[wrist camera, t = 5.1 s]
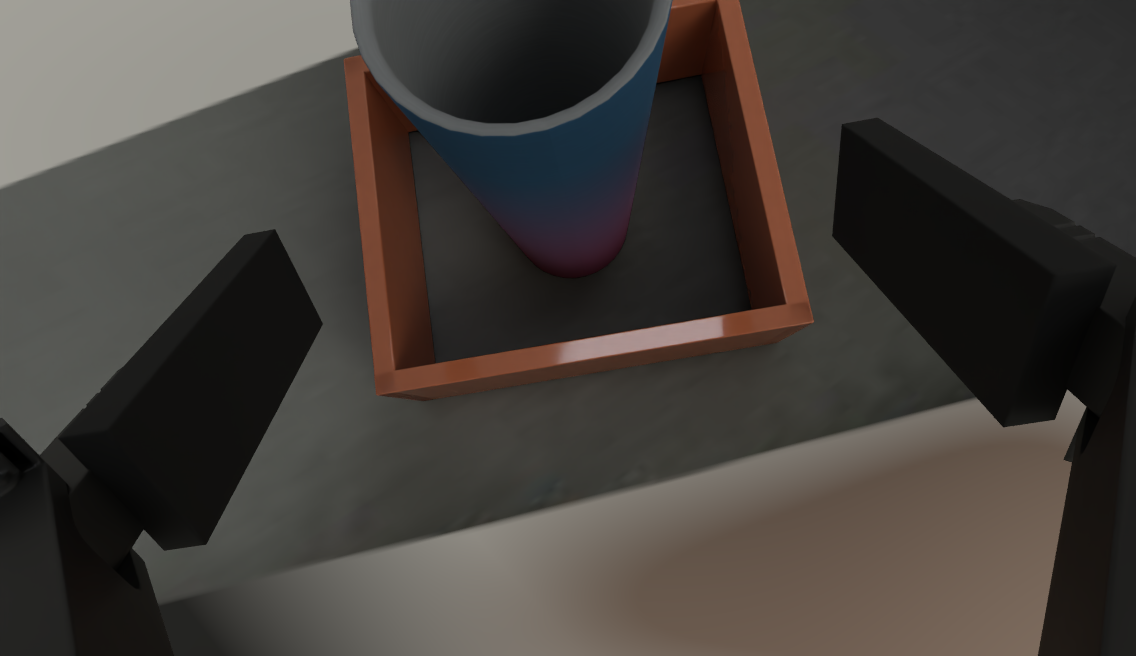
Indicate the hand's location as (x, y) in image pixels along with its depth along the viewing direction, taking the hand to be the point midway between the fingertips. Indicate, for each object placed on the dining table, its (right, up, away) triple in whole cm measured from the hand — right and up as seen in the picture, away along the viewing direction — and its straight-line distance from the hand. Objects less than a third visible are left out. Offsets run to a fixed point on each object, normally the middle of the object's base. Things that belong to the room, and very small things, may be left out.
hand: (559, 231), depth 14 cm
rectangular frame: (0, +2, +13) cm, 13 cm away
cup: (0, +2, +13) cm, 13 cm away
